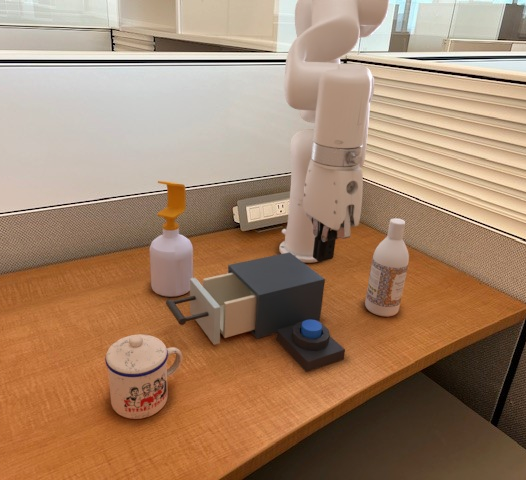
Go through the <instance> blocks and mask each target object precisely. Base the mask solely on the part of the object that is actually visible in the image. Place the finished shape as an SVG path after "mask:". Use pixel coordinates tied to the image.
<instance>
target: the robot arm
mask: <svg viewBox="0 0 526 480" xmlns="http://www.w3.org/2000/svg"><path fill="white" fill-rule="evenodd" d="M390 2H391V1H390V0H297V2H296V4H295V9H294V27H295V28H294V29H295V34H296V38H295V39H294V40H293V42H292V43H291V45H290V47H289V48H288V52H287V55H286V60H285V68H284V85H283V88H284V89H283V90H284V97H285V100H286V103H287V104H288V106H289V107H291V108H292V109H295V110H298V111H299V115H300V117H301V118H302V120H303V121H305V122H307V123H311V124H314V125H313V128H306V129H302V130H298V131H297V132H295V133H294V134H293V135H292V137H291V140H290V145H289V146H290V147H289V150H290V151H289V153H290V164H291V165H290V172H291V173H290V190H289V204H288V214H287V215H288V216H287V225H286V228H283V229H282V230H281V234H282V235H284V240H283V241H282V242H281V243H280V244H279V247H278V248H279V250H278V251H279V254H284V253H289V252H290V253H291V254H292V255H294V256H295V257H296V258H298V259H299V260H300V261H302V262H303V263H304V264H306V263H307V264H311V263H318V262H319V263H321V262H325V261H330V260H333V258H334V256H335V255H334V254H335V248H336V240H338V239H341V240H346V239H349V238H351V236H352V233H351V232H352V231H351V227H354V228H356V227H358V226H359V225H360V221H361V215H362V207H363V206H362V204H363V191H364V179H363V178H364V177H363V166H364V164H365V160H366V153H367V144H368V133H369V123H370V122H369V121H370V111H371V102H372V99H373V95H374V92H375V77H374V76H373V73H372V72H371V70H370V68H369V67H367V66H366V65H363V64H359V63H358V64H357V63H343V62H342V63H341V58H342V57H343V56H346V55H348V54H349V53H350V52H352V51H353V50H354V48H355V47H356V45H357V44H358V42H359V40H360V39H364V38H365V39H366V38H369V37H371V36H372V35H373V34H374V33H375V32H376V31H378V29H380V27H381V26H382V25H383V24H384V22H385V21H386V18H387V16H388V14H389V9H390V4H391V3H390Z"/></svg>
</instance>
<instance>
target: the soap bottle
mask: <svg viewBox="0 0 526 480" xmlns="http://www.w3.org/2000/svg"><path fill="white" fill-rule="evenodd" d="M157 183H158V184H160V185H166V189H167V190H166V191H167V194H166V195H167V204H166V207H164V208H163V209H161V210H159V212H157V217H161V218H163V219H164V220H166V222H165V223H163V224H162V234H160V235H158V236H156V237H155V238H154V239H153V240H152V241H151V243H150V246H149V264H150V287H151V289H152V291H153V292H154V293H155V294H156V295H160V296H162V297H168V298H169V297H180V296H183V295H185V294H187V293H190V279H191V278H194V246H193V244H192V241H191V240H190V239H189V238H187V237H186V236H185V235H183V234H180V225H179V223H178V222H175V220H177V219H178V217H179V216H181V215H182V214H183V213H185V211H186V205H187V204H186V201H187V200H186V198H187V197H186V186H185V184H183V183H178V182H172V181H166V180H157Z"/></svg>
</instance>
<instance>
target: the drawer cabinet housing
mask: <svg viewBox="0 0 526 480" xmlns="http://www.w3.org/2000/svg"><path fill="white" fill-rule="evenodd" d="M227 273H233V274H234V275H235V276H236V277H237V278H238V279H239V280H240V281H241V282H242V283H243V284H244V285H245V286H246V287H248V288H249V289H250V290H251V291H252V292H253V293H254V294H255V295H256V296H257V303H256V319H255V330H251V331H249V332H250V334H251V335H252V336H253V337H254V339H256V340H258V339H261V338H264V337H268V336H271V335H275V334H277V330H279V329H283V328H286V327H290V326H293V325H296V324H297V323H299V322H302V321H305V320H309V319H311V320H316V321H318V322H320V320H321V314H322V308H323V307H322V306H323V298H324V292H325V291H324V290H325V282H326V279H325V278H324V277H323V276H322V275H320V273H318V272H317V271H315V270H314V269H313V268H311V267H310V266H308V265H307V264H306V263H304V262H302V261H300V260H299V259H298V258H296V257H295V256H294V255H292V254H291V253H290V252H289V253H284V254H281V253H279V254H275V255H269V256H264V257H260V258H255V259H250V260H246V261H241V262H236V263H232V264H227Z"/></svg>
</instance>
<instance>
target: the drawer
mask: <svg viewBox="0 0 526 480" xmlns="http://www.w3.org/2000/svg"><path fill="white" fill-rule="evenodd" d="M183 303H189V313H190V315H188V316H184V314H183V313H182V311H181V310H180V308H179V307H178V306H177V305H179V304H183ZM256 303H257V296H256V295H255V294H254V293H253V292H252V291H251V290H250V289H249V288H248V287H246V286H245V285H244V284H243V283H242V282H241V281H240V280H239V279H238V278H237V277H236V276H235V275H234V274H233V273H228V272H227V273H223V274H218V275H214V276H209V277H205V278H203V279H202V283H201V282H200V281H199V280H198V279H197V277H193V278H191V279H190V291H189V296H187V297H183V298H178V299H174V300H173V299H172V298H168V299H166V301H165V305H166V307H167V308H168V309H169V311H170V313H171V314H172V315H173V317H174V318H175V320H176V322H178V324H179V325H180V326H184V325H186V324H187V322H191V321H194V320H195V321H196V323H197V324H198V325H199V327H200V328H201V330H202V331H203V332H204V334H205V335H206V336H207V338H208V339H209V340H210V342H211V343H212V344H213V346H215V345H219V344H221V335H222V336H223V338H224V339H227V338H229V337H233V336H237V335H241V334H244V333H248V332H250V331H251V330H255V319H256Z"/></svg>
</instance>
